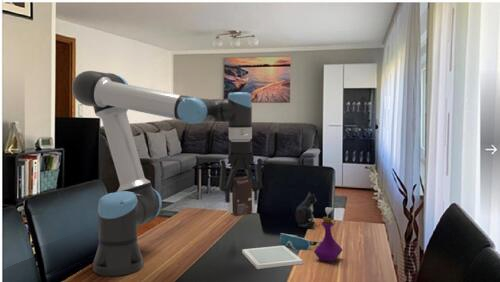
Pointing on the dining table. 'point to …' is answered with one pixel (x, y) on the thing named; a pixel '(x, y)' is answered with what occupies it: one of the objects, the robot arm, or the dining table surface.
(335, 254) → the perfume bottle
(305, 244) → the sunglasses
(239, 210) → the box
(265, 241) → the dining table surface
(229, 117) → the robot arm
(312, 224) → the figurine
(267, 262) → the picture frame
